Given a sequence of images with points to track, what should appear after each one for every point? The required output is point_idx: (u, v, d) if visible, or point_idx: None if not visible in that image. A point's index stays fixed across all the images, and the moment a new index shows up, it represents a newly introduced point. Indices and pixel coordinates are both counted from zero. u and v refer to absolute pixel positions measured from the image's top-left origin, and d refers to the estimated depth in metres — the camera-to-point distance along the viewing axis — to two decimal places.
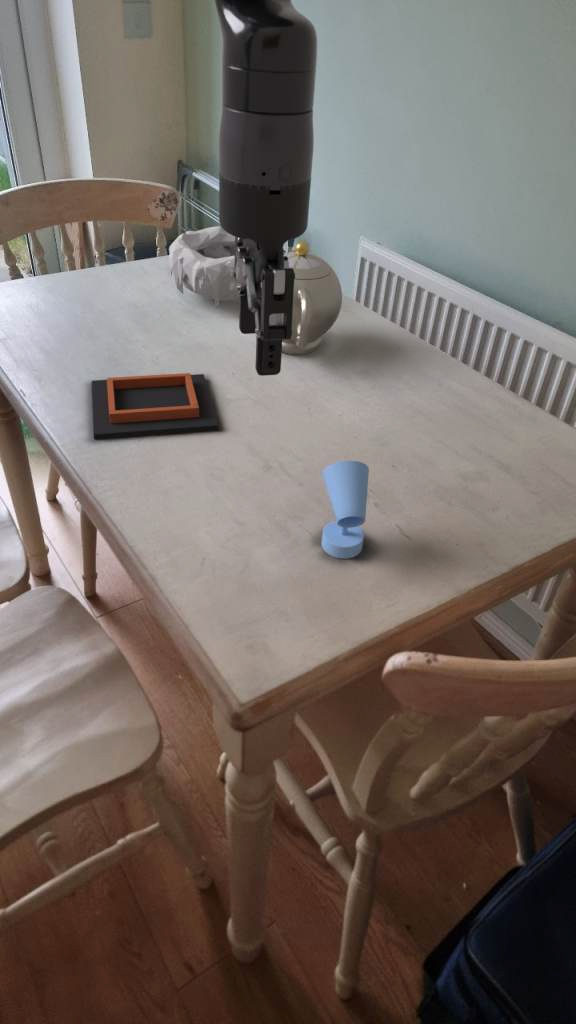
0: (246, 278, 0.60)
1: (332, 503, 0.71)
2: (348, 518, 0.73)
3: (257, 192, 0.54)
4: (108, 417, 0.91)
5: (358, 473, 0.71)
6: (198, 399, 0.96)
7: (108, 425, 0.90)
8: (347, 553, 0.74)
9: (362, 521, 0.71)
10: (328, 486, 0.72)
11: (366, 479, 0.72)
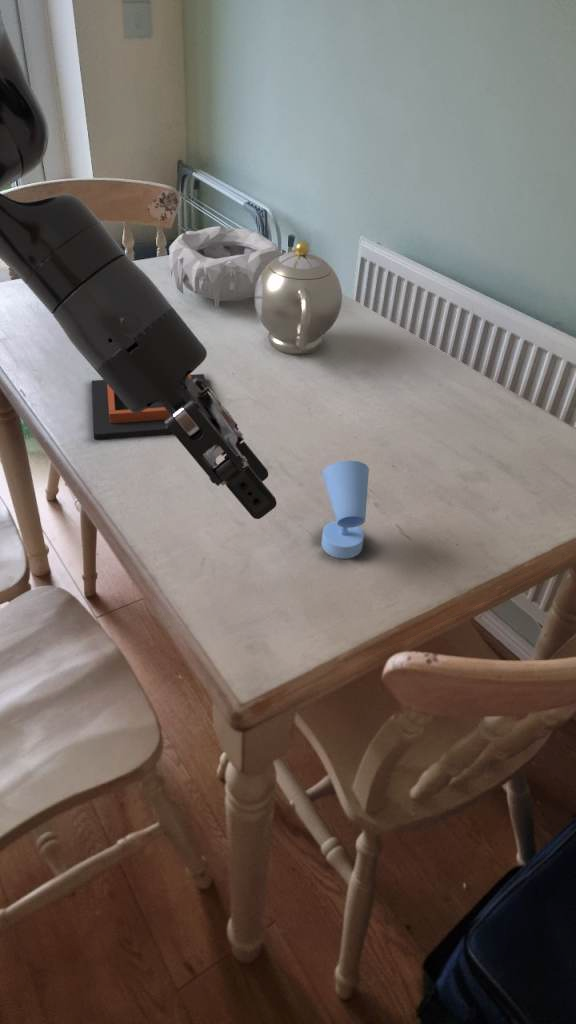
0: None
1: (332, 503, 0.71)
2: (348, 518, 0.73)
3: (119, 359, 0.49)
4: (108, 417, 0.91)
5: (358, 473, 0.71)
6: None
7: (108, 425, 0.90)
8: (347, 553, 0.74)
9: (362, 521, 0.71)
10: (328, 486, 0.72)
11: (366, 479, 0.72)
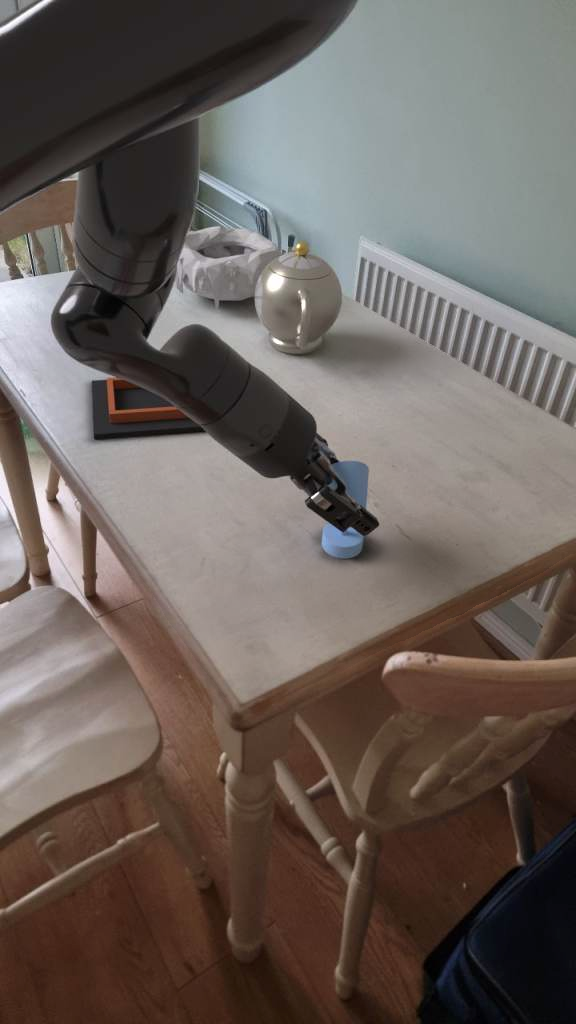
0: None
1: None
2: None
3: (258, 455, 0.62)
4: (108, 417, 0.91)
5: (358, 473, 0.71)
6: None
7: (108, 425, 0.90)
8: (347, 553, 0.74)
9: None
10: None
11: (366, 479, 0.72)
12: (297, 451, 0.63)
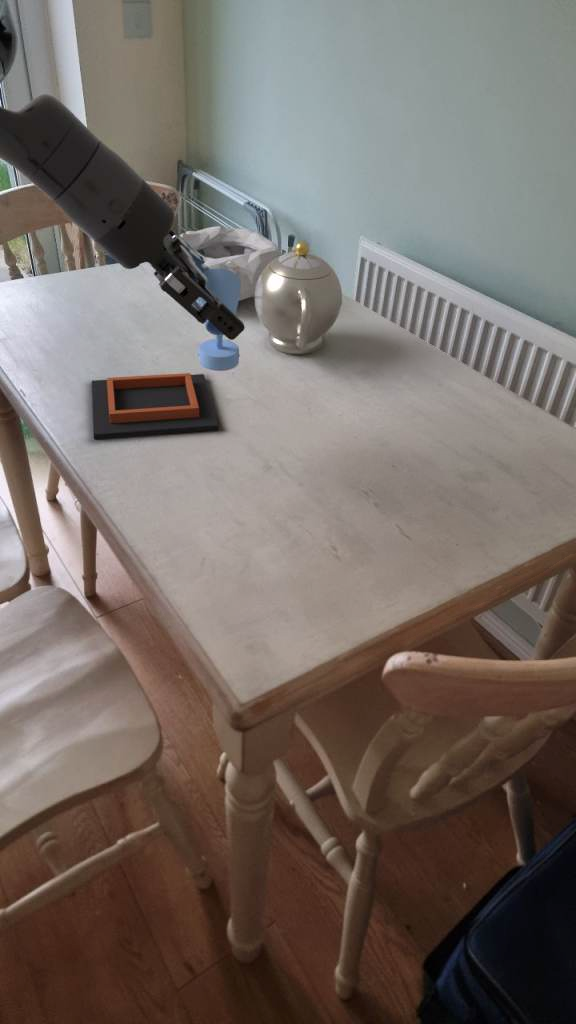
0: None
1: None
2: None
3: (112, 235, 0.65)
4: (108, 417, 0.91)
5: (227, 280, 0.74)
6: (198, 399, 0.96)
7: (108, 425, 0.90)
8: (220, 365, 0.77)
9: None
10: None
11: (236, 288, 0.75)
12: (151, 233, 0.66)
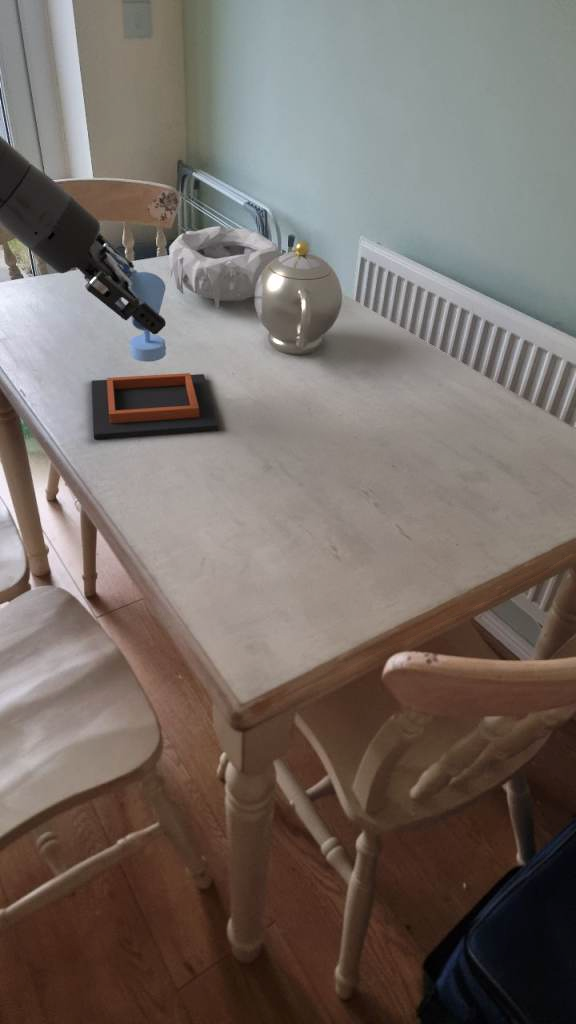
0: None
1: None
2: None
3: (44, 244, 0.76)
4: (108, 417, 0.91)
5: (151, 282, 0.85)
6: (198, 399, 0.96)
7: (108, 425, 0.90)
8: (148, 356, 0.88)
9: None
10: None
11: (159, 289, 0.86)
12: (77, 243, 0.76)
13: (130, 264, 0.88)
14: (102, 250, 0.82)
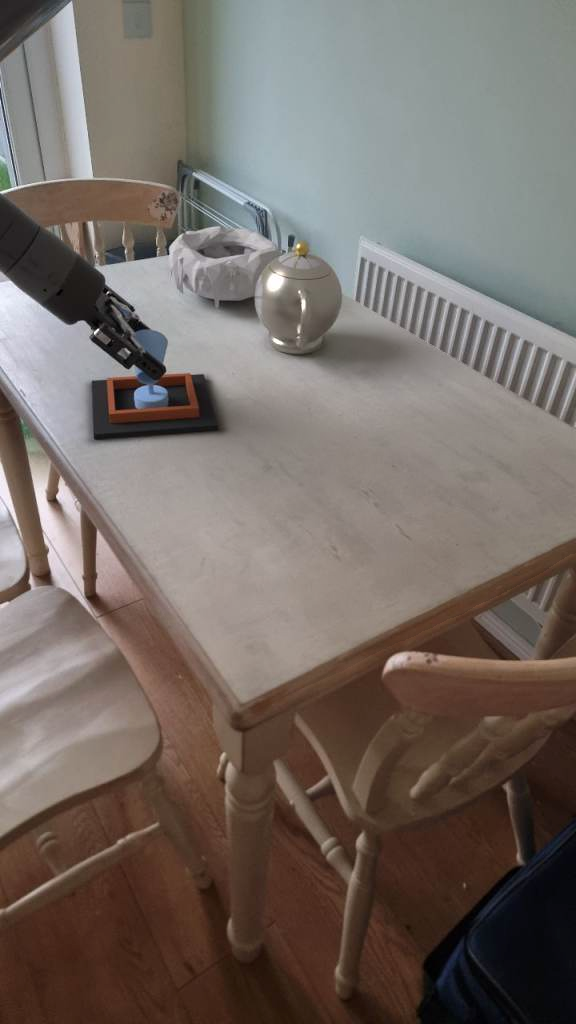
0: None
1: None
2: (149, 377, 0.91)
3: (52, 300, 0.80)
4: (108, 417, 0.91)
5: (154, 339, 0.90)
6: (198, 399, 0.96)
7: (108, 425, 0.90)
8: (151, 407, 0.93)
9: None
10: None
11: (162, 345, 0.90)
12: (84, 298, 0.80)
13: (131, 308, 0.92)
14: (107, 301, 0.86)
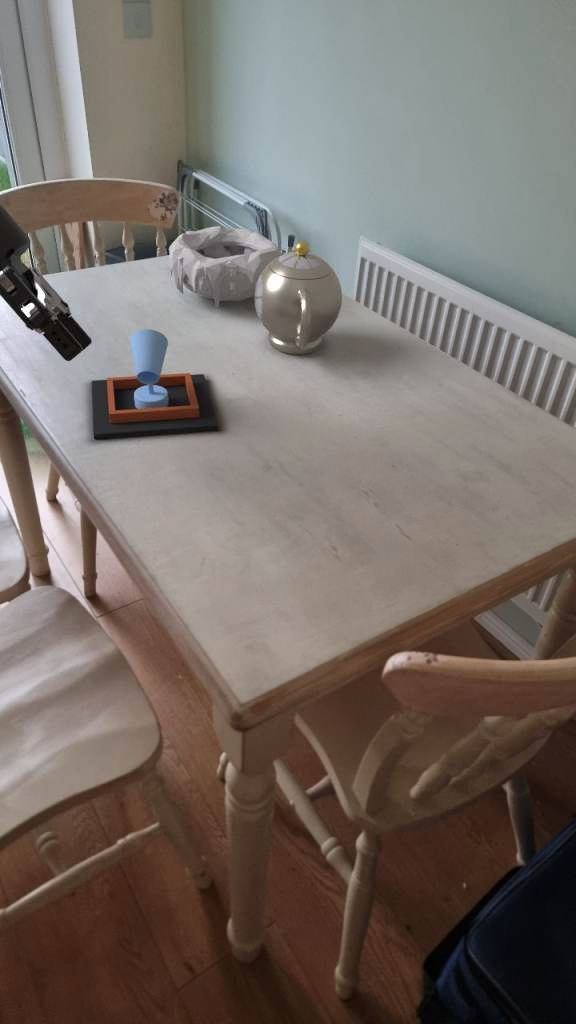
0: None
1: (134, 363, 0.90)
2: (149, 377, 0.91)
3: None
4: (108, 417, 0.91)
5: (154, 339, 0.90)
6: (198, 399, 0.96)
7: (108, 425, 0.90)
8: (151, 407, 0.93)
9: (157, 377, 0.90)
10: (132, 351, 0.90)
11: (162, 345, 0.90)
12: None
13: (65, 304, 0.81)
14: None
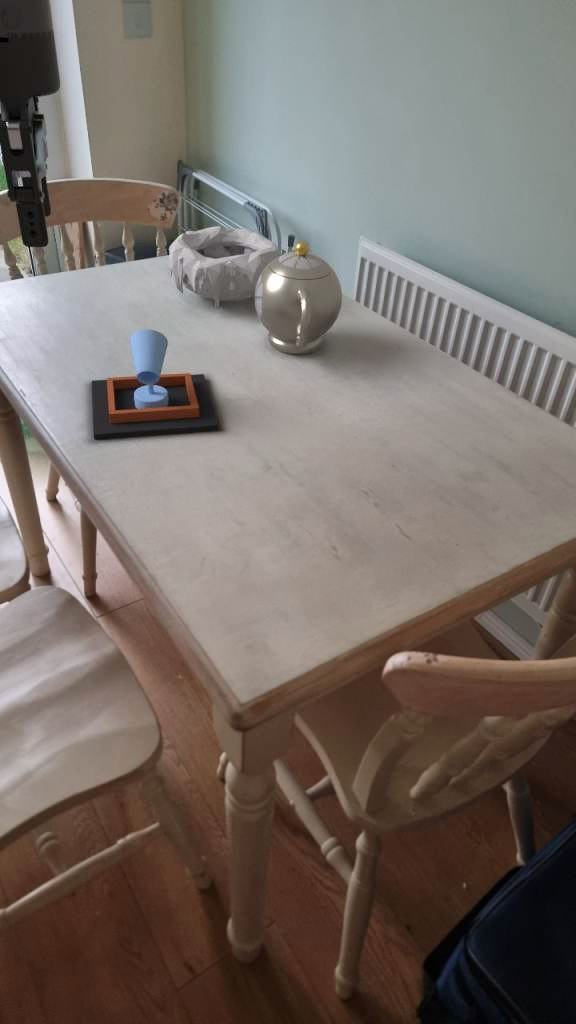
0: None
1: (134, 363, 0.90)
2: (149, 377, 0.91)
3: None
4: (108, 417, 0.91)
5: (154, 339, 0.90)
6: (198, 399, 0.96)
7: (108, 425, 0.90)
8: (151, 407, 0.93)
9: (157, 377, 0.90)
10: (132, 351, 0.90)
11: (162, 345, 0.90)
12: (25, 78, 0.55)
13: None
14: (36, 115, 0.61)
